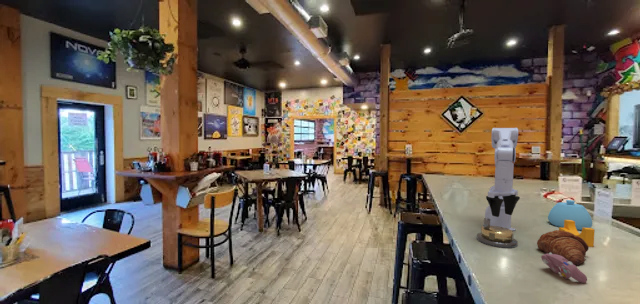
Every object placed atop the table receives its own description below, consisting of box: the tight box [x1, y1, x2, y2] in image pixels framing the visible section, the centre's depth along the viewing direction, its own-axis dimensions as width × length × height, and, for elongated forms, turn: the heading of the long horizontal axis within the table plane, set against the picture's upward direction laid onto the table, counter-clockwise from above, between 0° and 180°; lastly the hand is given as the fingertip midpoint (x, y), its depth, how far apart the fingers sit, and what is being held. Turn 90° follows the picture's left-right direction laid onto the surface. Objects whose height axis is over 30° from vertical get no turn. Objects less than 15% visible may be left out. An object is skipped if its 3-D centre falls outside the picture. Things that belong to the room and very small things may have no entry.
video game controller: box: [540, 253, 588, 284], centre depth 81 cm, size 10×5×7 cm, turn 5°
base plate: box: [476, 232, 519, 249], centre depth 108 cm, size 13×13×1 cm
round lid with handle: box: [480, 217, 515, 242], centre depth 107 cm, size 10×10×7 cm
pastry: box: [536, 229, 589, 267], centre depth 98 cm, size 17×15×8 cm
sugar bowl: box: [547, 199, 593, 231], centre depth 128 cm, size 15×15×12 cm
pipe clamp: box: [558, 220, 595, 248], centre depth 109 cm, size 12×4×6 cm, turn 170°
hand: (502, 215), depth 108 cm, fingers open, 7 cm apart
